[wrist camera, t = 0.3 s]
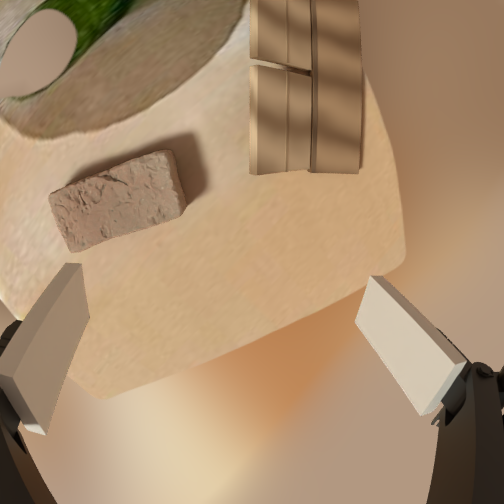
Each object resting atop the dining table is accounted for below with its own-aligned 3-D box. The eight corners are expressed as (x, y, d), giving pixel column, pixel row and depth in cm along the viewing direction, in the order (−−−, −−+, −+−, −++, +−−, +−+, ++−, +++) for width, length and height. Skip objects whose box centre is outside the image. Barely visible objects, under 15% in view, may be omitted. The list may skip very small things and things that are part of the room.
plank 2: (249, 66, 27) (258, 64, 26) (303, 77, 33) (311, 77, 32) (249, 174, 32) (257, 175, 31) (302, 167, 37) (310, 169, 36)
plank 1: (250, -29, 22) (257, -32, 21) (302, -7, 27) (309, -9, 26) (249, 58, 27) (257, 56, 26) (303, 70, 32) (311, 69, 31)
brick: (170, 145, 34) (166, 147, 30) (189, 207, 38) (187, 217, 34) (59, 188, 33) (43, 196, 29) (80, 243, 37) (68, 257, 33)
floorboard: (307, -7, 28) (311, -11, 26) (353, 3, 29) (358, 0, 27) (307, 171, 38) (311, 172, 37) (353, 172, 39) (358, 174, 38)
